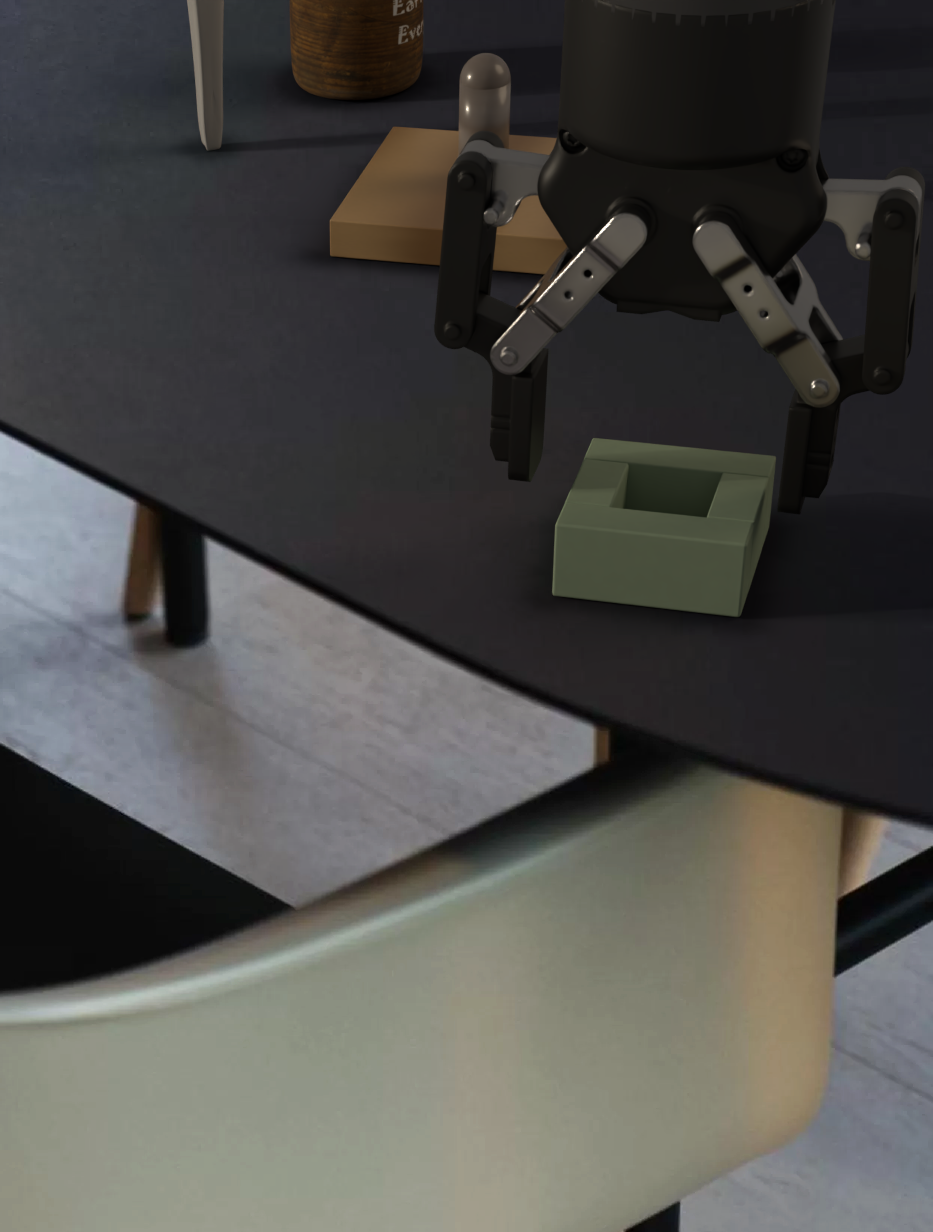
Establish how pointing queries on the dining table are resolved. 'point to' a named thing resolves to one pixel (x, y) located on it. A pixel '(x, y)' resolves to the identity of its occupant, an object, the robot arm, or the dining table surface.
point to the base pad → (442, 186)
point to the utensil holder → (356, 46)
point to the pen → (208, 67)
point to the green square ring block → (663, 527)
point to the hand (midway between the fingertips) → (657, 486)
